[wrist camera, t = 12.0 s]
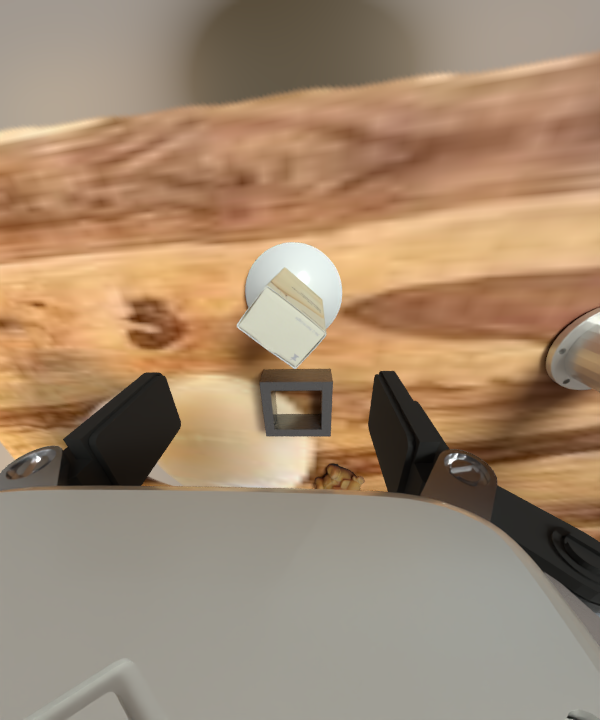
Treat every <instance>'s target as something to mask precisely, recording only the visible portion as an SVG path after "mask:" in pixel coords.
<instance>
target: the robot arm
mask: <svg viewBox="0 0 600 720" xmlns="http://www.w3.org/2000/svg"><path fill="white" fill-rule="evenodd" d="M546 370H547V373H548V375H549V377H550V378H551V379H552V380H553V381H554V382H556V383H557V384H559V385H561V386H563V387H565V388H568V389H573V390H588V389H594V390H596V391H597V392H599V393H600V307H599V308H597V309H595V310H593V311H590V312H588V313H586V314H585V315H583V316H582V317H580V318H578V319H577V320H575V321H574V322H573V323H572V324H570V325H569V326H568V327H567V328H566V329H565V330H564V331H563V332H562V333H561V334H560V335H559V336H558V337H557V338H556V340H555V341H554V342H553V344H552V346H551V348H550V350H549V352H548V355H547V358H546ZM180 427H181V421H180V418H179V415H178V412H177V409H176V406H175V403H174V400H173V397H172V394H171V391H170V388H169V385H168V382H167V379H166V377H165V376H163V375H162V374H161V373H144V374H143V375H141V376H140V377H139V378H138V379H137V380H135V381H134V382H133V383H132V384H130V385H129V386H128V387H127V388H125V389H124V390H123V391H122V392H121V393H119V394H118V395H117V396H116V397H114V398H113V399H112V400H111V401H109V402H108V403H107V404H106V405H105V406H103V407H102V408H101V409H100V410H98V411H97V412H96V413H95V414H94V415H92V416H91V417H90V418H89V419H87V420H86V421H85V422H84V423H82V424H81V425H80V426H79V427H78V428H76V429H75V430H74V431H73V432H71V433H70V434H69V435H68V436H67V437H65V438H64V439H63V440H64V442H65V443H66V445H67V446H68V447H67V448H66V449H65V450H64V451H63V450H62V448H60V447H59V446H47V447H43V448H39V449H36V450H34V451H31V452H29V453H27V454H25V455H23V456H21V457H19V458H18V459H16V460H15V461H13V462H12V463H11V464H9V465H8V466H7V467H6V468H5V469H4V470H2V472H1V473H0V720H600V542H598V541H597V540H595V539H594V538H592V537H591V536H589V535H587V534H586V533H584V532H582V531H581V530H579V529H577V528H575V527H573V526H571V525H570V524H568V523H566V522H564V521H562V520H560V519H558V518H557V517H555V516H553V515H551V514H549V513H547V512H546V511H544V510H542V509H540V508H538V507H536V506H534V505H533V504H531V503H529V502H527V501H525V500H523V499H522V498H520V497H518V496H516V495H514V494H512V493H511V492H509V491H507V490H505V489H503V488H501V487H499V486H498V485H497V477H496V475H495V473H494V471H493V470H492V469H491V467H490V466H489V465H488V464H487V463H485V462H484V461H483V460H482V459H480V458H479V457H477V456H475V455H473V454H471V453H469V452H466V451H463V450H457V449H449V448H448V446H447V445H446V443H445V442H444V440H443V439H442V437H441V436H440V434H439V433H438V431H437V430H436V428H435V427H434V425H433V424H432V422H431V421H430V419H429V418H428V416H427V415H426V413H425V412H424V410H423V409H422V407H421V406H420V404H419V403H418V402H417V401H413V399H412V398H411V396H410V395H409V393H408V392H407V390H406V388H405V387H404V385H403V384H402V382H401V381H400V379H399V377H398V376H397V374H396V373H395V372H394V371H380V372H379V374H376V375H375V377H374V384H373V392H372V399H371V407H370V414H369V421H368V427H369V432H370V435H371V438H372V441H373V445H374V448H375V451H376V454H377V458H378V461H379V464H380V467H381V471H382V474H383V477H384V480H385V484H386V487H387V490H388V492H381V491H360V490H335V489H294V488H246V487H185V486H141V485H142V484H143V482H144V481H145V479H146V478H147V476H148V475H149V473H150V472H151V470H152V469H153V467H154V466H155V465H156V463H157V462H158V460H159V459H160V457H161V456H162V454H163V453H164V451H165V450H166V448H167V447H168V445H169V444H170V443H171V441H172V440H173V438H174V437H175V435H176V434H177V432H178V431H179V429H180Z"/></svg>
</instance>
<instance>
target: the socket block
mask: <svg viewBox="0 0 600 720" xmlns="http://www.w3.org/2000/svg"><path fill="white" fill-rule="evenodd" d="M332 388H333V380H332V374H331V369H278V370H263V373H262V376H261V379H260V390H261V398H262V406H263V414H264V421H265V429H266V436H331V412H332ZM296 390H321V414H277V407H276V396H275V391H296Z"/></svg>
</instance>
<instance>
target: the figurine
mask: <svg viewBox="0 0 600 720" xmlns="http://www.w3.org/2000/svg"><path fill="white" fill-rule="evenodd" d="M327 472H328V473H326V475H325V476H324V477H323V478H321V477H317V478H316V479H315V481H316V482H315V484H316V489H335V490H360V486H361V484H362V483H364V482H365V480H364V478H363V477H361V476H358V477H356V476H355V475H354V473H353V472H351V471H350V470H348V469H346V468H343V467H340V466H338V464H329V465H328V468H327Z"/></svg>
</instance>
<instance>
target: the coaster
mask: <svg viewBox="0 0 600 720" xmlns="http://www.w3.org/2000/svg"><path fill="white" fill-rule="evenodd" d="M284 267H285V268H287V269H288V270H289V271H290V272H291V273H293V274H294V275H295V276H296V277H297V278H298V279H300V280H301V281H302V282H303V283H304V284H305V285H307V286H308V287H309V288H310V289H311V290H312V291H313V292H315V293H316V294H317V295H318V296H319V297H320V298H321V299H322V301H323V309H324V318H325V326H326V329H327V328H328V327H329V325H330V324H331V323H332V322H333V320H334V319H335V317H336V315H337V314H338V311H339V309H340V305H341V300H342V285H341V280H340V277H339V274H338V272H337V269H336V268H335V266H334V264H333V263H332V262H331V260H330V259H329V258H328V257H327V256H326V255H325V254H324V253H322V252H321V251H320V250H318V249H316V248H315V247H313V246H310V245H307V244H304V243H297V242H290V243H283V244H279V245H276V246H274V247H272V248H270V249H268V250H267V251H265V252H264V253H263V254H261V255H260V256H259V257H258V259H257V260H256V261H255V262H254V264H253V265H252V267H251V269H250V271H249V274H248V277H247V281H246V289H245V293H246V301H247V305H248V308H249V307H250V306H251V304H252V303H253V302H254V300H255V299H256V298H257V296H258V295H259V294H260V293H261V291H262V290H263V289H264V287H265V286H266V285H267V284H268V283H269V282H270V281H271V280H272V279H273V278H274V277H275V276H276V275H277V274H278V273H279V272H280V271H281V270H282V269H283V268H284Z"/></svg>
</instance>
